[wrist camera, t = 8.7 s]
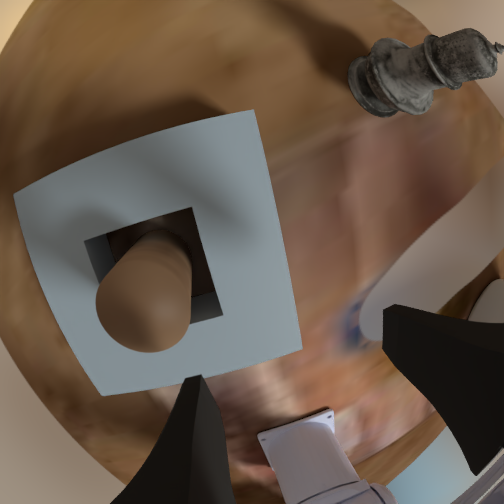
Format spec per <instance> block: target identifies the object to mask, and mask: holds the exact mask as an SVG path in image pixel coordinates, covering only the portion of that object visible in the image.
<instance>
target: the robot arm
mask: <svg viewBox="0 0 504 504" xmlns="http://www.w3.org/2000/svg"><path fill="white" fill-rule="evenodd" d="M382 349H383V351H384V352H385V353H386V355H387V356H388V358H389V359H390V360H391V362H392V363H393V364H394V366H395V367H396V368H397V369H398V370H399V371H400V372H401V373H402V374H403V375H404V376H405V377H406V378H407V379H408V380H409V381H410V382H411V383H412V384H413V385H414V386H415V387H416V388H417V389H418V390H419V391H420V392H421V393H422V394H423V395H424V396H425V397H426V398H427V399H428V400H429V401H430V402H431V404H432V405H433V406H434V407H435V409H436V410H437V412H438V413H439V414H440V416H441V417H442V418H443V420H444V421H445V423H446V424H447V426H448V427H449V429H450V430H451V432H452V434H453V435H454V437H455V439H456V440H457V442H458V444H459V446H460V448H461V450H462V452H463V454H464V456H465V458H466V460H467V463H468V465H469V468H470V470H471V471H472V473H473V474H474V475H475V476H477V475H478V474H479V473H480V472H481V471H482V470H483V469H484V468H485V467H486V466H487V465H488V464H489V463H490V462H491V461H492V460H493V459H494V458H495V457H496V456H497V455H498V454H499V453H500V452H501V451H502V449H503V448H504V323H487V322H476V321H468V320H463V319H457V318H452V317H447V316H443V315H439V314H435V313H431V312H426V311H423V310H419V309H414V308H411V307H407V306H402V305H397V304H394V305H392V306H390V307H388V308H386V309H384V310H383V344H382ZM257 437H258V440H259V442H260V444H261V446H262V449H263V451H264V453H265V455H266V457H267V459H268V462H269V464H270V466H271V468H272V470H273V471H275V474H276V477H277V480H278V483H279V486H280V489H281V492H282V494H283V497H284V500H285V503H286V504H398V502H397V500H396V499H395V497H394V496H393V494H392V493H391V492H390V491H389V490H388V488H386V487H385V486H384V485H381V484H377V483H372V484H370V485H369V484H368V483H367V481H366V479H363V480H360V478H359V477H358V475H357V473H356V471H355V470H354V468H353V466H352V465H351V463H350V461H349V459H348V458H347V456H346V454H345V452H344V451H343V449H342V447H341V446H340V444H339V442H338V440H337V439H336V437H335V435H334V412H333V410H332V409H327V410H325V411H322V412H320V413H317V414H315V415H312V416H309V417H307V418H304V419H301V420H298V421H296V422H293V423H290V424H287V425H284V426H281V427H277V428H274V429H271V430H267V431H264V432H261V433H259V434H258V435H257ZM503 473H504V454H503V455H502V456H501V457H500V458H499V459H498V460H497V462H496V463H495V464H494V465H493V466H492V467H491V468H490V469H489V470H488V471H487V472H486V473H485V474H484V475H483V476H482V477H481V478H480V479H479V480H478V481H477V482H475V483H474V484H473V485H472V486H471V487H470V488H469V489H468V490H466V491H465V492H464V493H463V494H462V495H461V496H459V497H458V498H457V499H456V500H455V501H454V502H452V503H451V504H473V503H475V502H476V501H477V500H478V499H479V498H480V497H481V496H482V495H483V494H484V493H485V492H486V491H487V490H488V489H489V488H490V487H491V486H492V485H493V484H494V483H495V482H496V481H497V480H498V479H499V478H500V477H501V476H502V475H503ZM110 504H236V502H235V498H234V494H233V491H232V486H231V480H230V472H229V464H228V456H227V447H226V439H225V431H224V427H223V423H222V418H221V414H220V410H219V408H218V406H217V404H216V402H215V400H214V398H213V396H212V394H211V392H210V390H209V388H208V386H207V384H206V382H205V380H204V378H203V376H202V374H200V375H196V376H192V377H187V378H185V379H184V381H183V384H182V387H181V389H180V392H179V394H178V397H177V399H176V402H175V404H174V407H173V409H172V411H171V414H170V416H169V418H168V420H167V423H166V425H165V427H164V429H163V431H162V433H161V435H160V437H159V439H158V440H157V442H156V444H155V446H154V448H153V449H152V451H151V453H150V455H149V456H148V458H147V459H146V461H145V462H144V464H143V465H142V467H141V468H140V470H139V471H138V472H137V474H136V475H135V476H134V478H133V479H132V480H131V481H130V483H129V484H128V485H127V486H126V488H125V489H124V490H123V491H122V492H121V493H120V494H119V495H118V496H117V497H116V498H115V499H114V500H113V501H112V502H111V503H110ZM478 504H504V479H503V480H502V481H501V482H499V483H498V484H497V485H496V486H495V487H494V488H493V489H492V490H491V491H490V492H489V493H488V494H487V495H485V497H484V498H483V499H482V500H481V501H480V502H479V503H478Z"/></svg>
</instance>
